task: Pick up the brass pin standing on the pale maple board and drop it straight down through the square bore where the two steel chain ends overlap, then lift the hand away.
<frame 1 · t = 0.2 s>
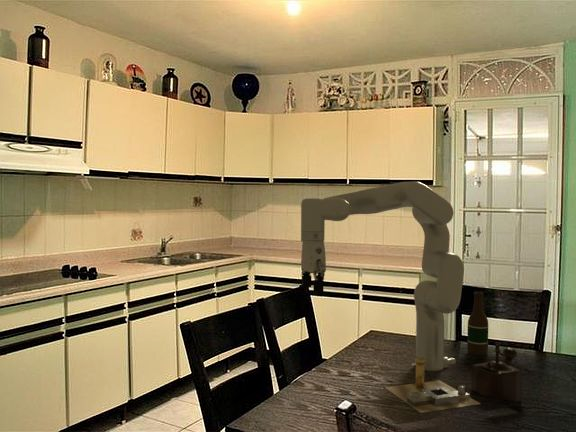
hand: (312, 290, 166), 31 cm above the table, tool pointing down, fingers open, 9 cm apart
brass pin: (419, 388, 161), point 1 cm above the table, touching maple board
beer bottle: (477, 353, 203), on the table
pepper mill: (501, 401, 155), on the table
maple board: (430, 400, 156), on the table
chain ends: (438, 400, 152), resting on maple board
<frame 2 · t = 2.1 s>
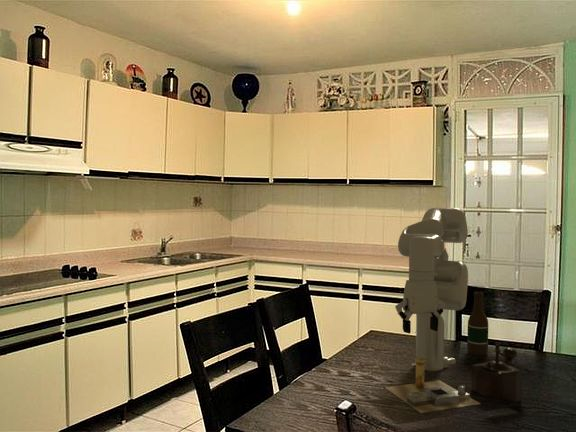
hand: (420, 331, 160), 19 cm above the table, tool pointing down, fingers open, 9 cm apart
nothing on the table moved.
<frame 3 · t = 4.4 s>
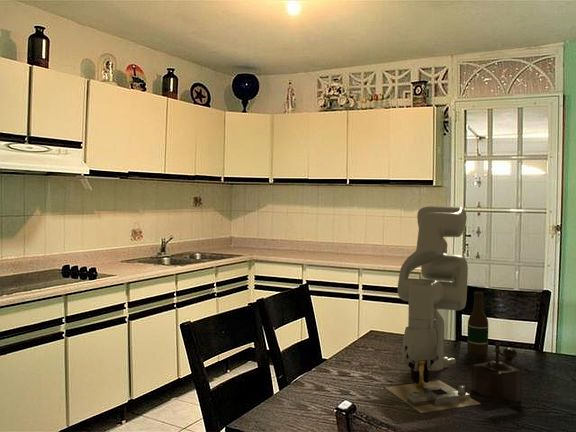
hand: (419, 381, 161), 4 cm above the table, tool pointing down, fingers closed on brass pin, 2 cm apart
brass pin: (419, 388, 161), point 2 cm above the table, touching gripper, maple board
everything else where it was.
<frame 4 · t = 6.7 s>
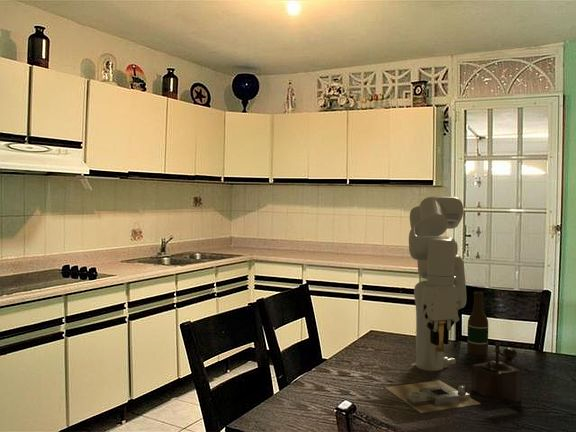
hand: (439, 343, 151), 18 cm above the table, tool pointing down, fingers closed on brass pin, 2 cm apart
brass pin: (439, 350, 151), point 16 cm above the table, touching gripper
everything else where it was.
when the fingers open (8 cm above the table, at t = 9.2 s): brass pin drops 4 cm, resting on maple board.
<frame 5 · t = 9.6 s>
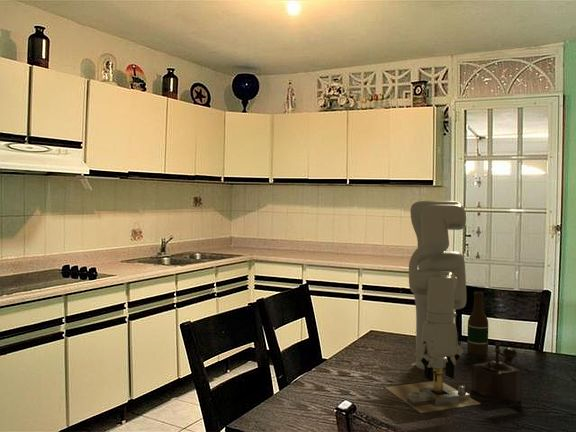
hand: (439, 377, 151), 8 cm above the table, tool pointing down, fingers open, 6 cm apart
brass pin: (438, 400, 152), point 2 cm above the table, touching maple board
everything else where it was.
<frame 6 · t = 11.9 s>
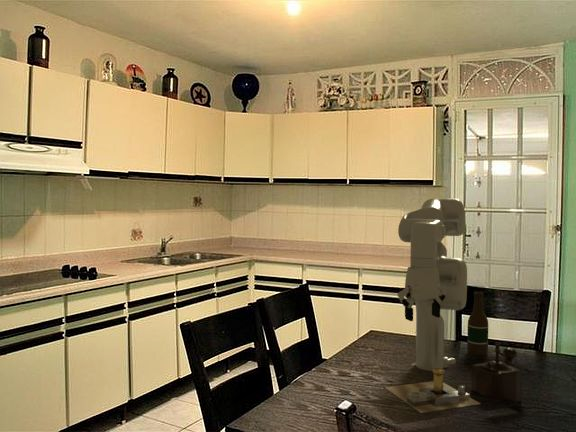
hand: (422, 318, 158), 24 cm above the table, tool pointing down, fingers open, 9 cm apart
nothing on the table moved.
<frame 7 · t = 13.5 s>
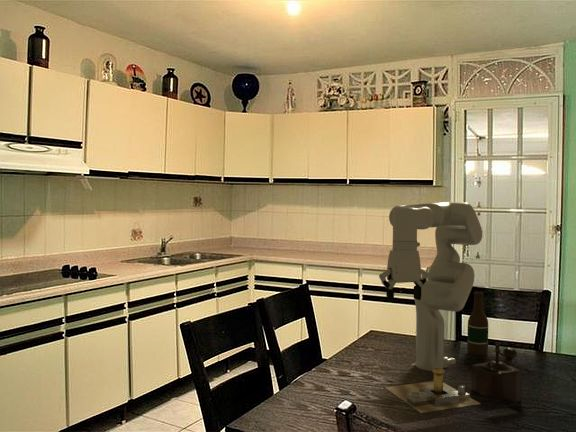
hand: (403, 300, 164), 28 cm above the table, tool pointing down, fingers open, 9 cm apart
nothing on the table moved.
at the end: brass pin 0.3 cm off-centre on the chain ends, point 0.0 cm above the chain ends's base; brass pin tilted 0°; the gripper is holding nothing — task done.
